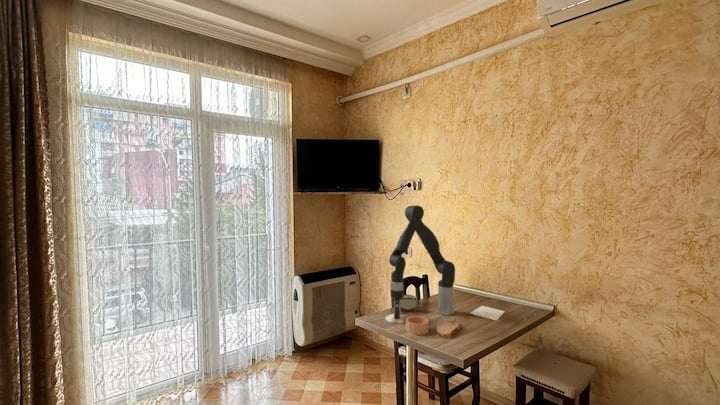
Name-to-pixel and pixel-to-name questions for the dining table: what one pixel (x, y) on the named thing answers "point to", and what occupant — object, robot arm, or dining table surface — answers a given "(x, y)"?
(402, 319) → the lid
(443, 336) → the bread slice
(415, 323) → the bowl
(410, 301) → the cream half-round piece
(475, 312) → the paper sheet
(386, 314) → the mat
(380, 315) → the dining table surface
